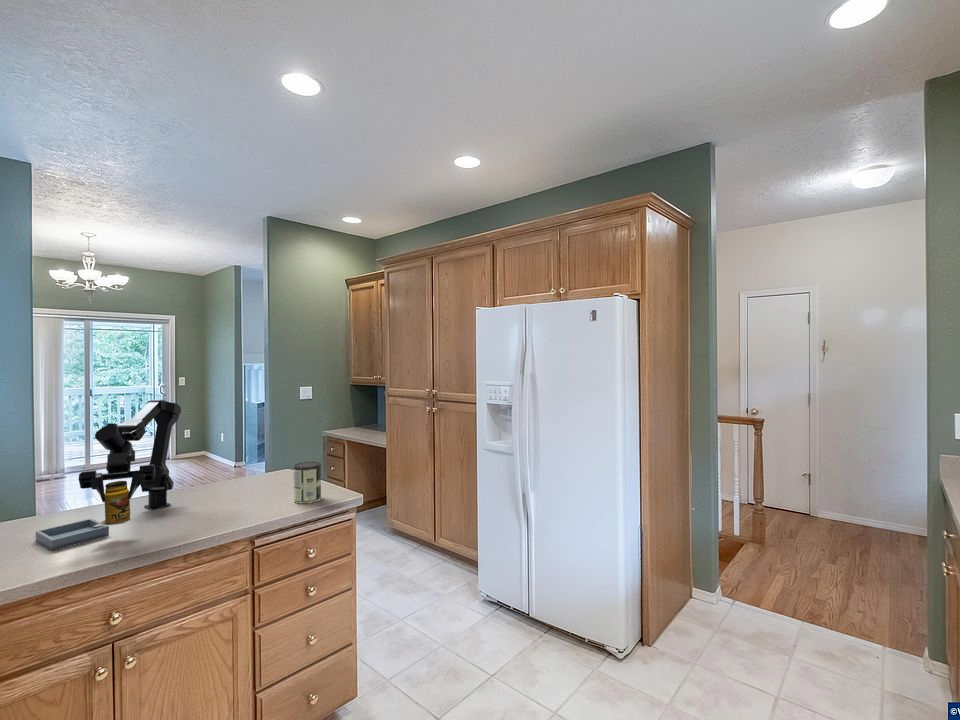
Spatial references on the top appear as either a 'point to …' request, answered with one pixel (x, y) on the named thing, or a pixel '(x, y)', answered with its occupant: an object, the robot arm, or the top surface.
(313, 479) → the coffee can
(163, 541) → the top surface
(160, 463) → the robot arm
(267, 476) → the top surface
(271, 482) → the top surface
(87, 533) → the bin
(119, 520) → the condiment
